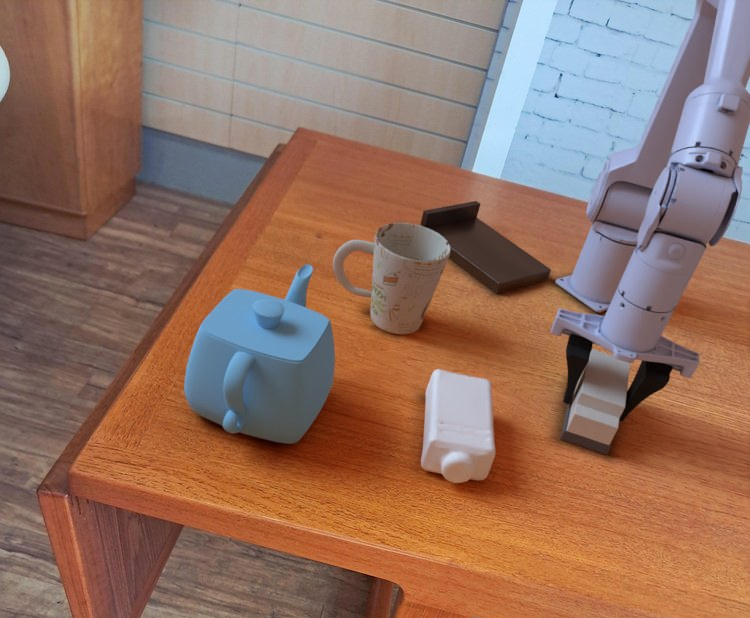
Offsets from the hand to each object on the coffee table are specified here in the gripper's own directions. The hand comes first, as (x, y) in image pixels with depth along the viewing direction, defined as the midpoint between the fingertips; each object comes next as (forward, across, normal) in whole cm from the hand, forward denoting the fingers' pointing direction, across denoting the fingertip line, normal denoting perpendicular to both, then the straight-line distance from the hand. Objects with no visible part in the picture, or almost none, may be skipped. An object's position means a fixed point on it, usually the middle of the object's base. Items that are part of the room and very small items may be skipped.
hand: (593, 407), depth 84 cm
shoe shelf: (+1, -18, +28) cm, 34 cm away
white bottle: (+2, -13, -12) cm, 17 cm away
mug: (+2, -26, +6) cm, 27 cm away
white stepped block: (+1, 0, 0) cm, 1 cm away
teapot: (+2, -32, -15) cm, 35 cm away
